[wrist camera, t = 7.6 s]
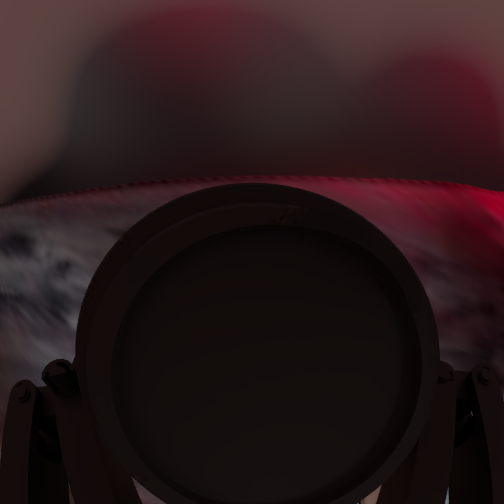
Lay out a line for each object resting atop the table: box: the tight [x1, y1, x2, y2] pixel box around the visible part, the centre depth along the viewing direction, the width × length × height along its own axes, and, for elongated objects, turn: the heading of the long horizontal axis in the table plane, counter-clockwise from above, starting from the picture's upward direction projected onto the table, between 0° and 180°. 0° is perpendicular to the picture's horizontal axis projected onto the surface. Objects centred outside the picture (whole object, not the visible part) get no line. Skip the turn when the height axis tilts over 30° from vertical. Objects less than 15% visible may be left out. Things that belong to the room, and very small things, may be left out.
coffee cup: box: [75, 183, 440, 504], centre depth 11 cm, size 9×9×15 cm
